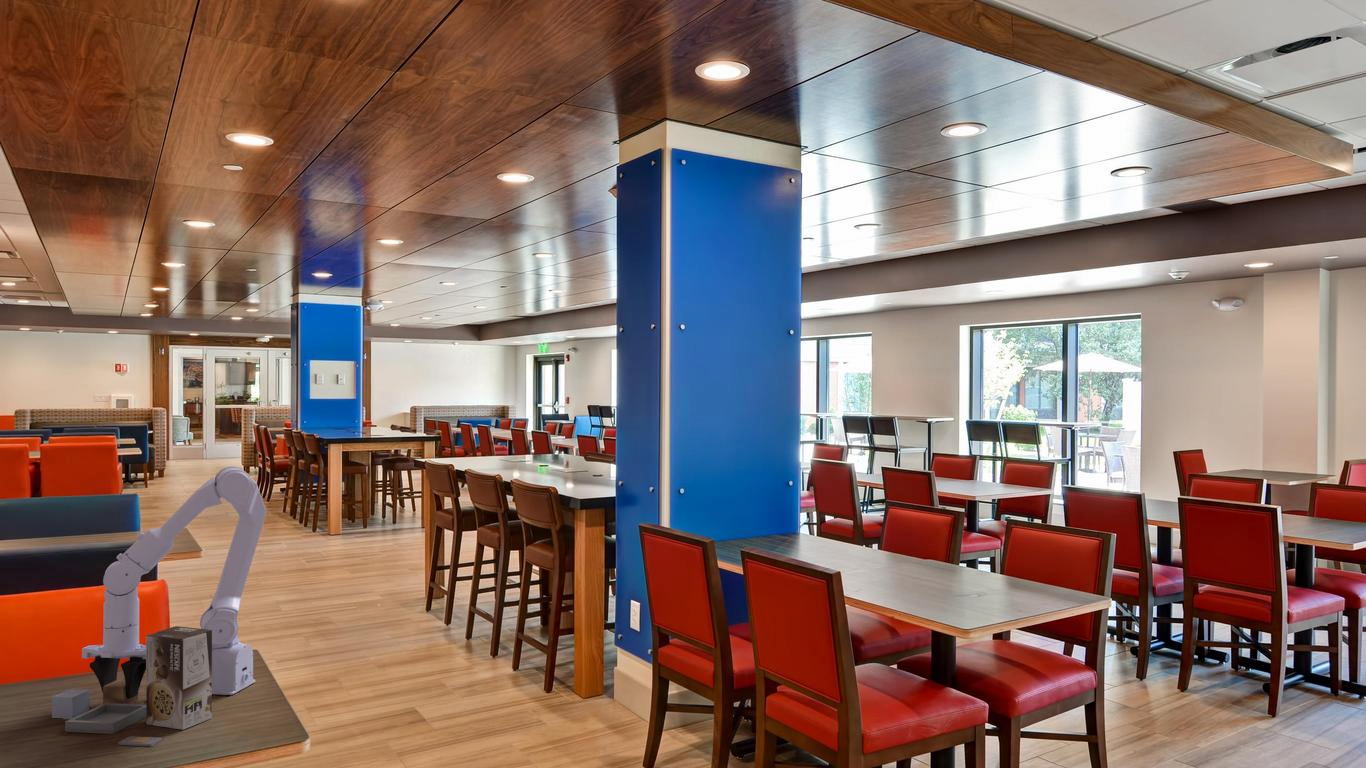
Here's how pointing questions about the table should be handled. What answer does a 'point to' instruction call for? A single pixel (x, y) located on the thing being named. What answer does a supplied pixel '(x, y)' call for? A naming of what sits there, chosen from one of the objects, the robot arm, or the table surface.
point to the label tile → (140, 741)
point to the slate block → (70, 703)
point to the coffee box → (179, 677)
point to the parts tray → (106, 718)
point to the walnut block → (117, 693)
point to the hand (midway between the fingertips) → (120, 696)
